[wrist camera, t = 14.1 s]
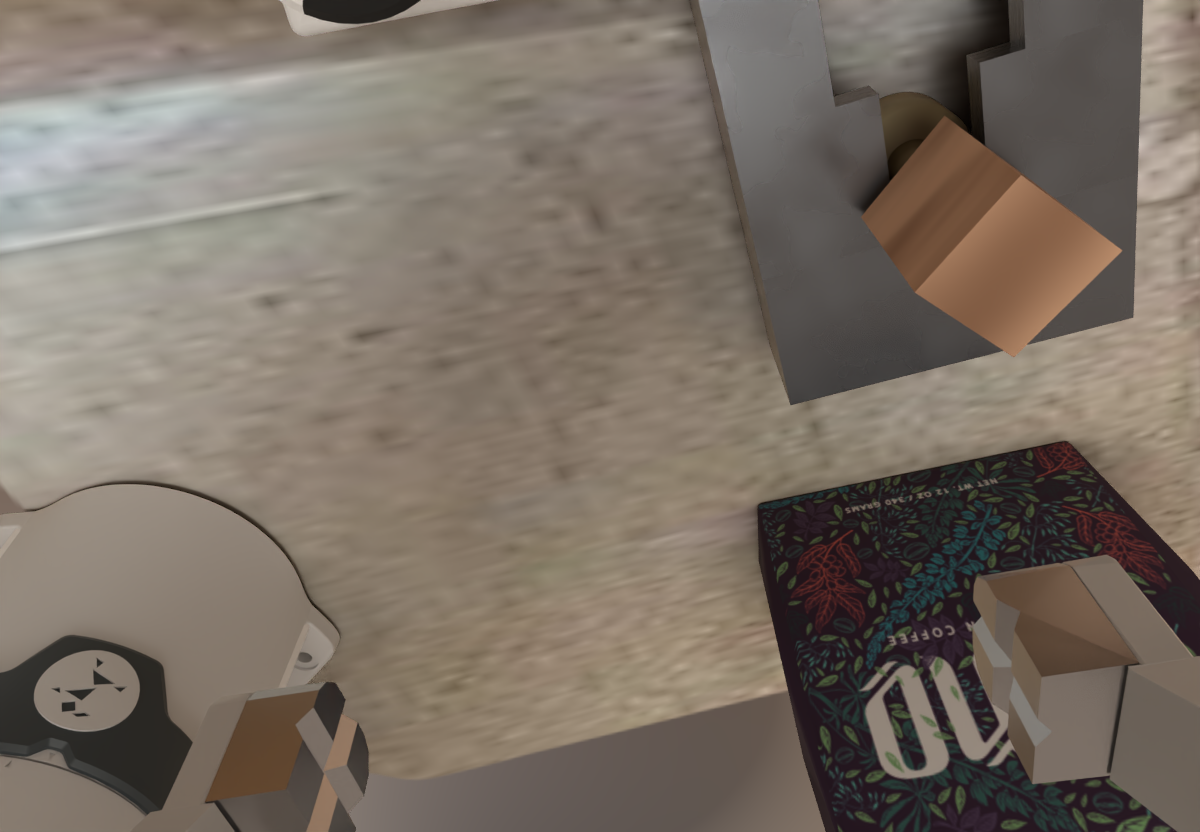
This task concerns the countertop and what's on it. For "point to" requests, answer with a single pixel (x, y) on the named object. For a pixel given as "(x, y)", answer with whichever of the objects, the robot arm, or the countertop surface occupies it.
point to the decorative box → (942, 637)
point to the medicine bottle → (359, 12)
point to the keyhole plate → (860, 173)
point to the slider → (977, 227)
